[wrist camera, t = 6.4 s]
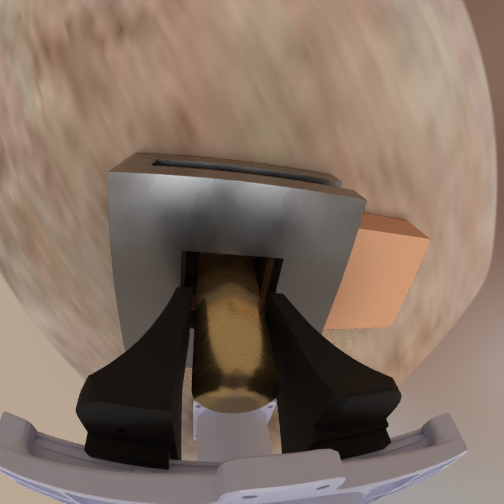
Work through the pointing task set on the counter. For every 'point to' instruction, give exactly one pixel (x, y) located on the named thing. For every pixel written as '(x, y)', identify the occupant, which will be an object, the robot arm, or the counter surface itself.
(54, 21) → the counter surface
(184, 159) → the bracket
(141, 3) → the counter surface
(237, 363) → the brass pin
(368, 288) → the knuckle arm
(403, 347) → the counter surface
